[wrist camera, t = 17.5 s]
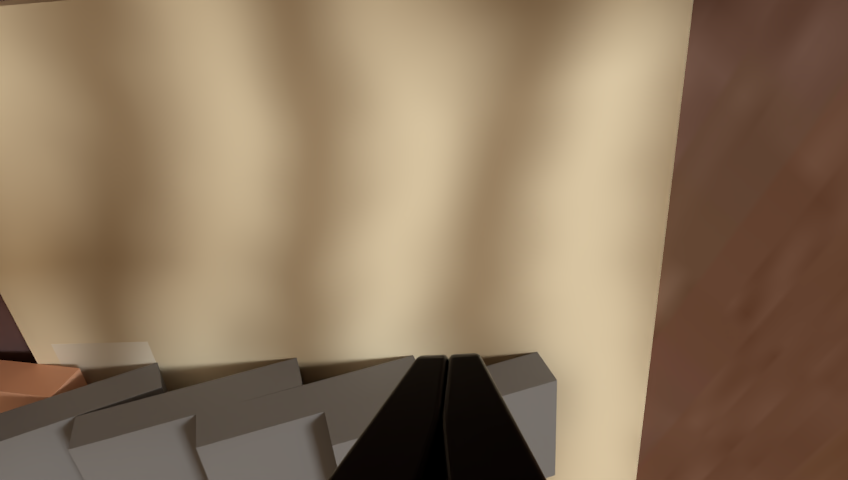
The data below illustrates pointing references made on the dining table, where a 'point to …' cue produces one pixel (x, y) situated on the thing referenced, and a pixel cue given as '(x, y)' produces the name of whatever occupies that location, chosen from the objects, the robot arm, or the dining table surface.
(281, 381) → the domino
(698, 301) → the dining table surface
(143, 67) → the domino board
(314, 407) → the domino
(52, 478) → the domino
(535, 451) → the domino
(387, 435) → the robot arm
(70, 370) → the end tile
